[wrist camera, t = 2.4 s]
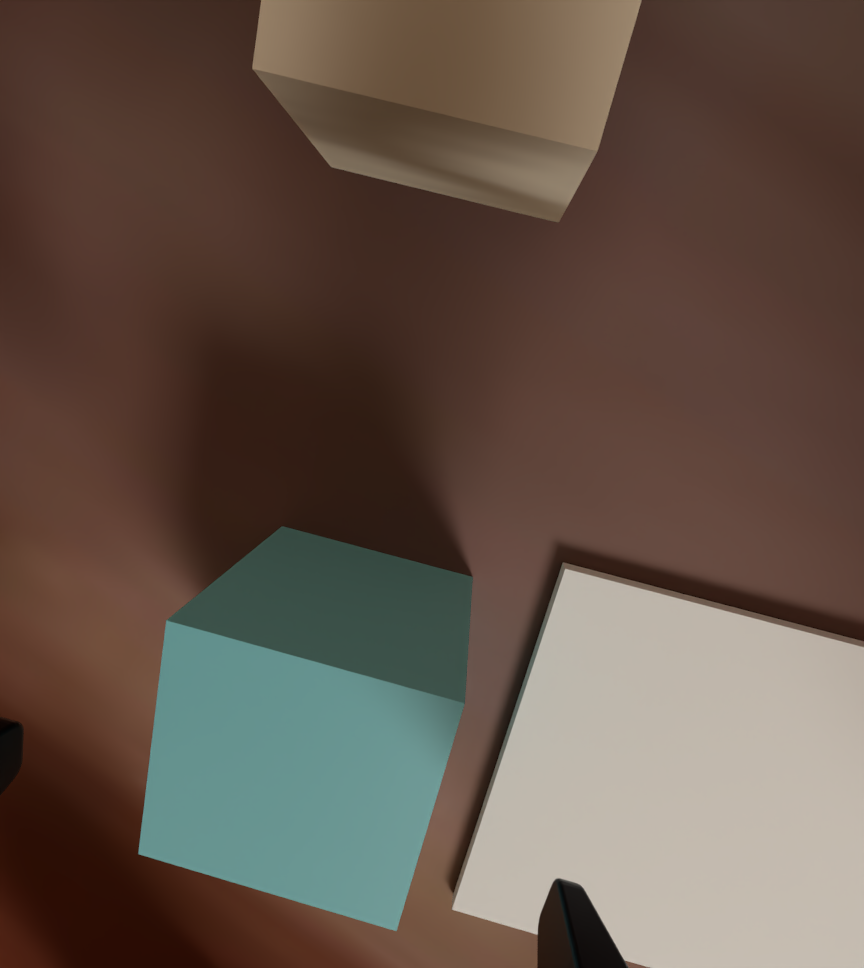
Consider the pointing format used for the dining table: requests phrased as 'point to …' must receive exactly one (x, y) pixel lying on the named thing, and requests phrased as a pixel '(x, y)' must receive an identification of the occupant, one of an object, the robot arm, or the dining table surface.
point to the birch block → (451, 90)
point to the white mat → (681, 782)
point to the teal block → (308, 723)
